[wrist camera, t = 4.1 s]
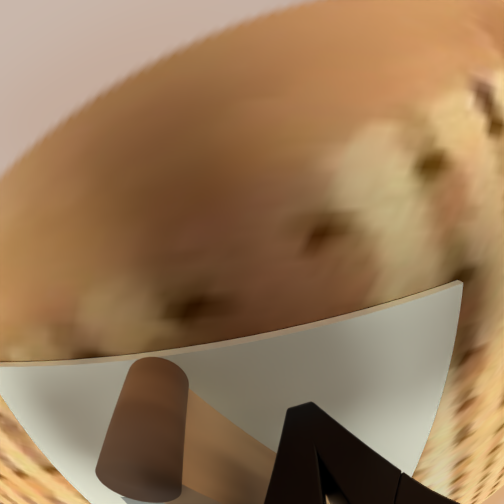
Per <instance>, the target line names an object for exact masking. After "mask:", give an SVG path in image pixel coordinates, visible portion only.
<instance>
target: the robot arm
mask: <svg viewBox="0 0 504 504" xmlns="http://www.w3.org/2000/svg"><path fill="white" fill-rule="evenodd" d="M401 472H402V471H401V470H400V469H399V468H397V467H396V466H395V465H393V464H392V463H390V462H389V461H388V460H386V459H385V458H384V457H382V456H381V455H380V454H378V453H377V452H376V451H374V450H373V449H372V448H370V447H369V446H368V445H366V444H365V443H364V442H362V441H361V440H360V439H359V438H357V437H356V436H355V435H353V434H352V433H351V432H350V431H348V430H347V429H346V428H345V427H343V426H342V425H341V424H340V423H338V422H337V421H336V420H335V419H333V418H332V417H331V416H330V415H329V414H327V413H326V412H325V411H324V410H322V409H321V408H320V407H319V406H318V405H316V404H315V403H314V402H312V401H310V402H307V403H303V404H300V405H296V406H293V407H289V408H288V409H287V411H286V415H285V420H284V424H283V429H282V433H281V437H280V442H279V446H278V450H277V454H276V458H275V462H274V466H273V470H272V474H271V478H270V482H269V486H268V489H267V493H266V497H265V500H264V504H327V501H326V496H327V498H328V501H329V503H330V504H460V503H458V502H456V501H453V500H451V499H449V498H447V497H445V496H443V495H441V494H439V493H437V492H435V491H433V490H431V489H429V488H427V487H426V486H424V485H423V484H421V483H419V482H418V481H416V480H415V479H413V478H412V477H410V476H409V475H407V474H406V473H405V472H402V473H401Z"/></svg>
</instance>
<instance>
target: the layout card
mask: <svg viewBox="0 0 504 504" xmlns="http://www.w3.org/2000/svg"><path fill="white" fill-rule="evenodd" d="M462 291H463V282H461V281H459V280H456V281H453V282H450V283H447V284H444V285H442V286H439V287H436V288H433V289H430V290H426V291H423V292H420V293H417V294H414V295H411V296H408V297H404V298H401V299H398V300H394V301H391V302H388V303H384V304H381V305H377V306H374V307H370V308H367V309H363V310H359V311H356V312H352V313H348V314H344V315H340V316H337V317H333V318H329V319H325V320H320V321H316V322H312V323H308V324H304V325H299V326H295V327H290V328H286V329H281V330H277V331H272V332H267V333H262V334H257V335H252V336H247V337H242V338H237V339H231V340H226V341H220V342H214V343H208V344H202V345H196V346H189V347H183V348H176V349H169V350H162V351H154V352H146V353H138V354H129V355H120V356H110V357H99V358H88V359H74V360H58V361H37V362H0V394H1V396H2V398H3V399H4V401H5V402H6V404H7V405H8V407H9V408H10V410H11V411H12V413H13V414H14V416H15V417H16V419H17V420H18V421H19V423H20V424H21V426H22V427H23V428H24V430H25V431H26V432H27V434H28V435H29V436H30V438H31V439H32V440H33V441H34V443H35V444H36V445H37V446H38V448H39V449H40V450H41V451H42V453H43V454H44V455H45V456H46V457H47V458H48V460H49V461H50V462H51V463H52V464H53V465H54V466H55V467H56V469H57V470H58V471H59V472H60V473H61V474H62V475H63V476H64V477H65V478H66V479H67V480H68V481H69V482H70V483H71V484H72V485H73V486H74V487H75V488H76V489H77V490H78V491H79V492H80V493H81V494H82V495H83V496H84V497H85V498H86V499H87V500H88V501H89V502H90V503H91V504H165V503H149V502H142V501H137V500H133V499H130V498H127V497H124V496H122V495H119V494H117V493H115V492H113V491H112V490H110V489H109V488H107V487H106V486H105V485H103V484H102V483H101V482H100V480H99V479H98V478H97V476H96V473H95V469H96V465H97V462H98V458H99V455H100V452H101V449H102V445H103V442H104V439H105V436H106V433H107V430H108V427H109V424H110V421H111V418H112V415H113V412H114V409H115V406H116V403H117V401H118V398H119V395H120V392H121V389H122V387H123V384H124V381H125V378H126V376H127V373H128V370H129V368H130V366H131V365H132V364H133V363H134V362H135V361H137V360H139V359H141V358H145V357H160V358H164V359H167V360H169V361H171V362H173V363H175V364H176V365H178V366H179V367H180V368H181V369H182V370H183V371H184V372H185V374H186V376H187V378H188V381H189V389H191V390H192V391H193V392H194V393H195V394H197V395H198V396H199V397H200V398H201V399H203V400H204V401H205V402H206V403H208V404H209V405H210V406H211V407H213V408H214V409H215V410H217V411H218V412H219V413H220V414H222V415H223V416H224V417H226V418H227V419H228V420H230V421H231V422H232V423H234V424H235V425H236V426H238V427H239V428H241V429H242V430H243V431H245V432H246V433H248V434H249V435H250V436H252V437H253V438H255V439H256V440H258V441H259V442H260V443H262V444H263V445H265V446H266V447H268V448H269V449H271V450H272V451H274V452H275V453H277V450H278V446H279V442H280V437H281V433H282V429H283V424H284V420H285V415H286V411H287V409H288V408H289V407H293V406H296V405H300V404H303V403H307V402H310V401H312V402H314V403H315V404H316V405H318V406H319V407H320V408H321V409H322V410H324V411H325V412H326V413H327V414H329V415H330V416H331V417H332V418H333V419H335V420H336V421H337V422H338V423H340V424H341V425H342V426H343V427H345V428H346V429H347V430H348V431H350V432H351V433H352V434H353V435H355V436H356V437H357V438H359V439H360V440H361V441H362V442H364V443H365V444H366V445H368V446H369V447H370V448H372V449H373V450H374V451H376V452H377V453H378V454H380V455H381V456H382V457H384V458H385V459H386V460H388V461H389V462H390V463H392V464H393V465H395V466H396V467H397V468H399V469H400V470H401V471H402V472H405V473H406V474H407V475H409V476H410V477H412V475H413V473H414V470H415V468H416V466H417V464H418V461H419V459H420V456H421V454H422V451H423V449H424V446H425V444H426V441H427V439H428V436H429V433H430V430H431V427H432V425H433V422H434V419H435V416H436V413H437V409H438V406H439V403H440V400H441V396H442V393H443V389H444V385H445V382H446V378H447V374H448V370H449V366H450V361H451V357H452V352H453V348H454V343H455V337H456V332H457V326H458V320H459V314H460V307H461V299H462ZM402 472H401V473H402Z"/></svg>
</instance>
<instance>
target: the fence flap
mask: <svg viewBox="0 0 504 504" xmlns="http://www.w3.org/2000/svg"><path fill="white" fill-rule="evenodd" d="M276 454H277V453H275V452H274V451H272V450H271V449H269V448H268V447H266V446H265V445H263V444H262V443H260V442H259V441H258V440H256V439H255V438H253V437H252V436H250V435H249V434H248V433H246V432H245V431H243V430H242V429H241V428H239V427H238V426H236V425H235V424H234V423H232V422H231V421H230V420H228V419H227V418H226V417H224V416H223V415H222V414H220V413H219V412H218V411H217V410H215V409H214V408H213V407H211V406H210V405H209V404H208V403H206V402H205V401H204V400H203V399H201V398H200V397H199V396H198V395H197V394H195V393H194V392H193V391H192V390H191V389H189V381H188V378H187V376H186V374H185V372H184V371H183V370H182V369H181V368H180V367H179V366H178V365H176V364H175V363H173V362H171V361H169V360H167V359H164V358H160V357H145V358H141V359H139V360H137V361H135V362H134V363H133V364H132V365H131V366H130V368H129V370H128V373H127V376H126V378H125V381H124V384H123V387H122V389H121V392H120V395H119V398H118V401H117V403H116V406H115V409H114V412H113V415H112V418H111V421H110V424H109V427H108V430H107V433H106V436H105V439H104V442H103V445H102V449H101V452H100V455H99V458H98V462H97V465H96V469H95V473H96V476H97V478H98V479H99V480H100V482H101V483H102V484H103V485H105V486H106V487H107V488H109V489H110V490H112V491H113V492H115V493H117V494H119V495H122V496H124V497H127V498H130V499H133V500H137V501H142V502H149V503H165V504H264V500H265V497H266V493H267V489H268V486H269V482H270V478H271V474H272V470H273V466H274V462H275V458H276ZM326 501H327V504H330V503H329V501H328V498H327V496H326Z"/></svg>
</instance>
